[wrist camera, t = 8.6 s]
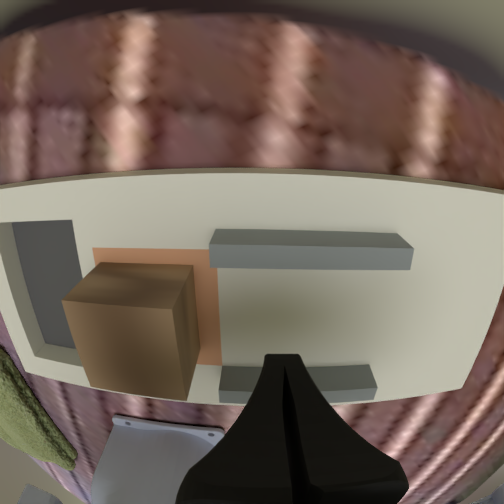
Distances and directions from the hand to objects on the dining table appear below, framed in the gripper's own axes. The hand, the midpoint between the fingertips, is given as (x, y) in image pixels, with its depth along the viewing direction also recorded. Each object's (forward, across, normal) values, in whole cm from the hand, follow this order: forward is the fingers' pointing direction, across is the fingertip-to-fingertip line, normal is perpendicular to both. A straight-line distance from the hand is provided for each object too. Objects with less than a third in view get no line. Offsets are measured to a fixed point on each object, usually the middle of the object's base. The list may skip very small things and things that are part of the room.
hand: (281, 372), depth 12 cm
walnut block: (+4, +7, 0) cm, 8 cm away
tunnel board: (+6, +2, 0) cm, 7 cm away
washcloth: (+7, +28, +16) cm, 33 cm away
